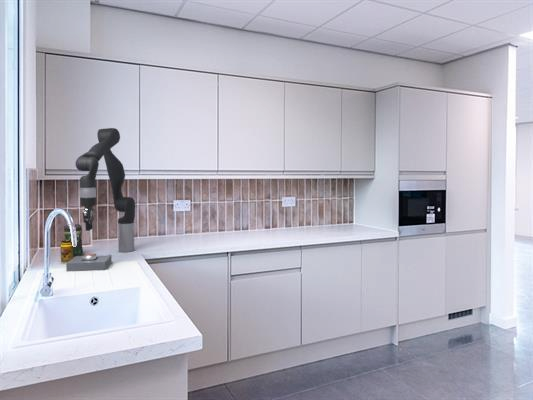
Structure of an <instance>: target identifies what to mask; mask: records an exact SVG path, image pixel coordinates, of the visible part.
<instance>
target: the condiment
mask: <svg viewBox="0 0 533 400" xmlns="http://www.w3.org/2000/svg"><path fill="white" fill-rule="evenodd" d="M60 243H61V245H60V260H58V262H59V264H66V263H67V262H69V261H70V260H71V259H73V246H72V242H71V239H66V240H65V239H61V242H60Z"/></svg>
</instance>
